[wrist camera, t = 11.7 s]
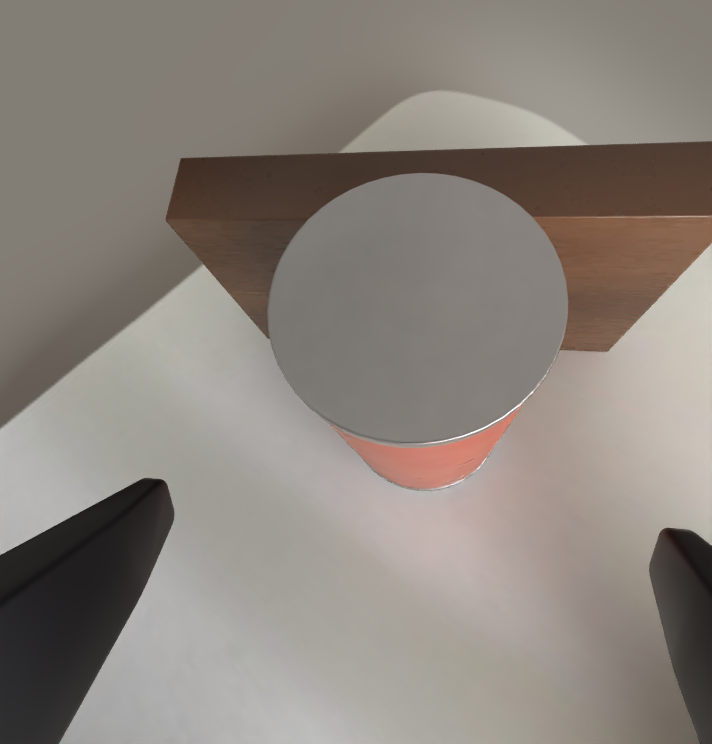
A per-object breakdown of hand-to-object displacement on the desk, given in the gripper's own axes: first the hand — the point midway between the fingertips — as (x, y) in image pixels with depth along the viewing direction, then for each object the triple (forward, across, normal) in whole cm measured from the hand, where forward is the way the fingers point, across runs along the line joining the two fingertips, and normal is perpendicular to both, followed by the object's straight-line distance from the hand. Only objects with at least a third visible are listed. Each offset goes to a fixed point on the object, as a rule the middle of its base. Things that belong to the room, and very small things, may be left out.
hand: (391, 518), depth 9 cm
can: (+12, 0, +6) cm, 13 cm away
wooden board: (+16, 0, +2) cm, 16 cm away
